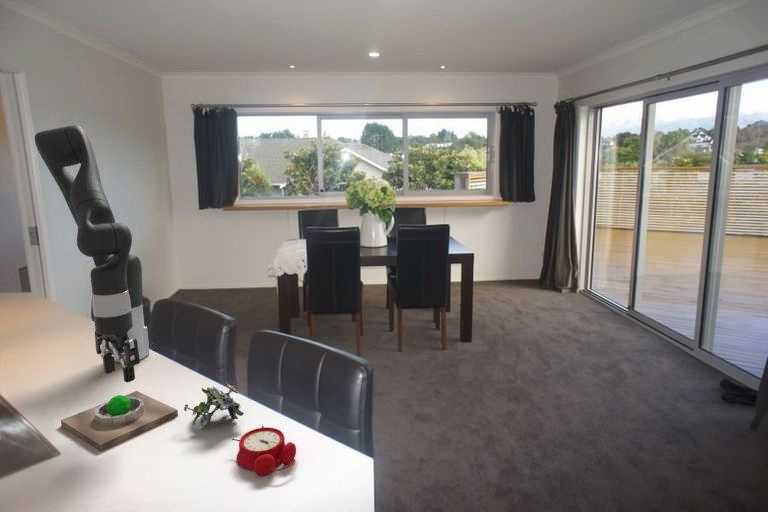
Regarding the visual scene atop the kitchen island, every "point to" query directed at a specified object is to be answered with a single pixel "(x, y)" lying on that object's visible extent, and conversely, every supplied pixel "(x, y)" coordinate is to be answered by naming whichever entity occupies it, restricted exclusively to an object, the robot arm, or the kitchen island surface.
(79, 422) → the walnut board
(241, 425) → the kitchen island surface
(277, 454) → the alarm clock
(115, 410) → the polyhedron
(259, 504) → the kitchen island surface
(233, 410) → the grey green plastic figure
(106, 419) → the steel ring
